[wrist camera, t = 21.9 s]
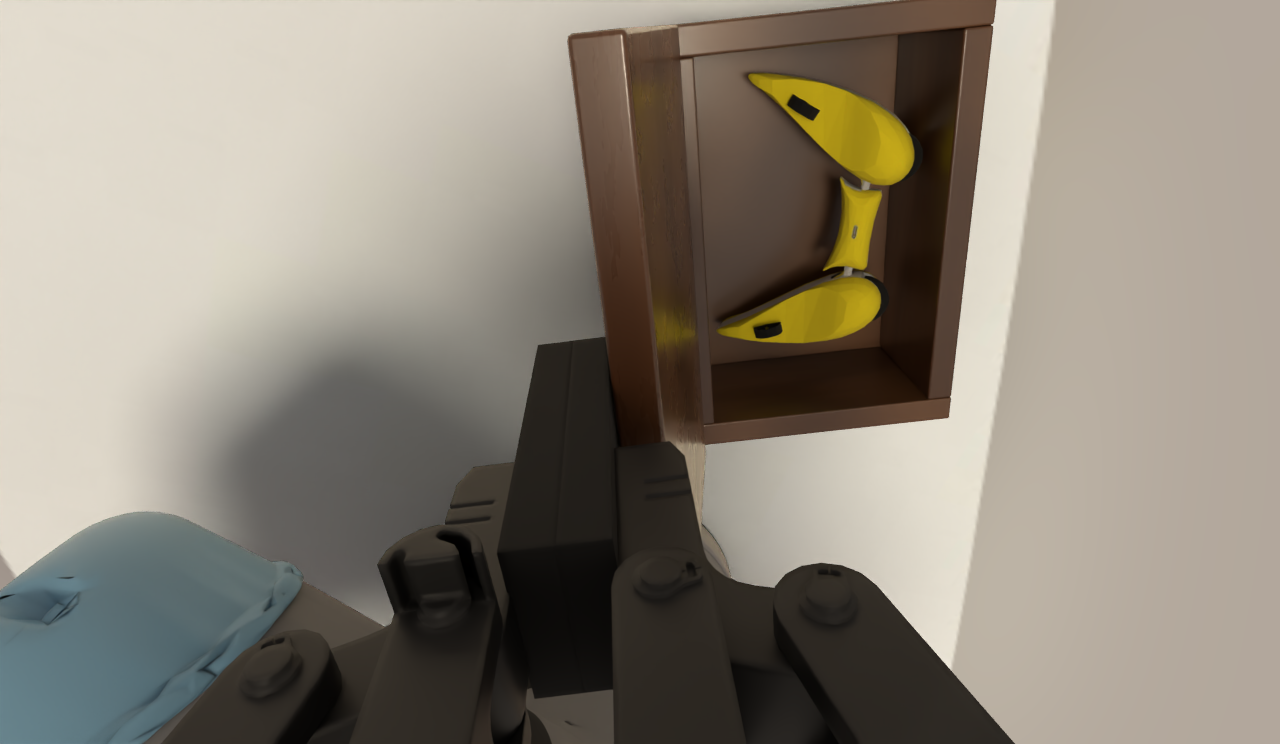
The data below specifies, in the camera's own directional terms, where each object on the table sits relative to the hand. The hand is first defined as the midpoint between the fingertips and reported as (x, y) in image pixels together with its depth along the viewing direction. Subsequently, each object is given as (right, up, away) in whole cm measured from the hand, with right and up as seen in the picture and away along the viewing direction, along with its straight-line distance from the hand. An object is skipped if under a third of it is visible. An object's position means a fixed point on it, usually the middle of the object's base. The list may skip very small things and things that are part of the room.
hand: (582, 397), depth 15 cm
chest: (+7, +7, +13) cm, 17 cm away
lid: (+2, +2, +3) cm, 4 cm away
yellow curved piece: (+8, +7, +13) cm, 16 cm away
